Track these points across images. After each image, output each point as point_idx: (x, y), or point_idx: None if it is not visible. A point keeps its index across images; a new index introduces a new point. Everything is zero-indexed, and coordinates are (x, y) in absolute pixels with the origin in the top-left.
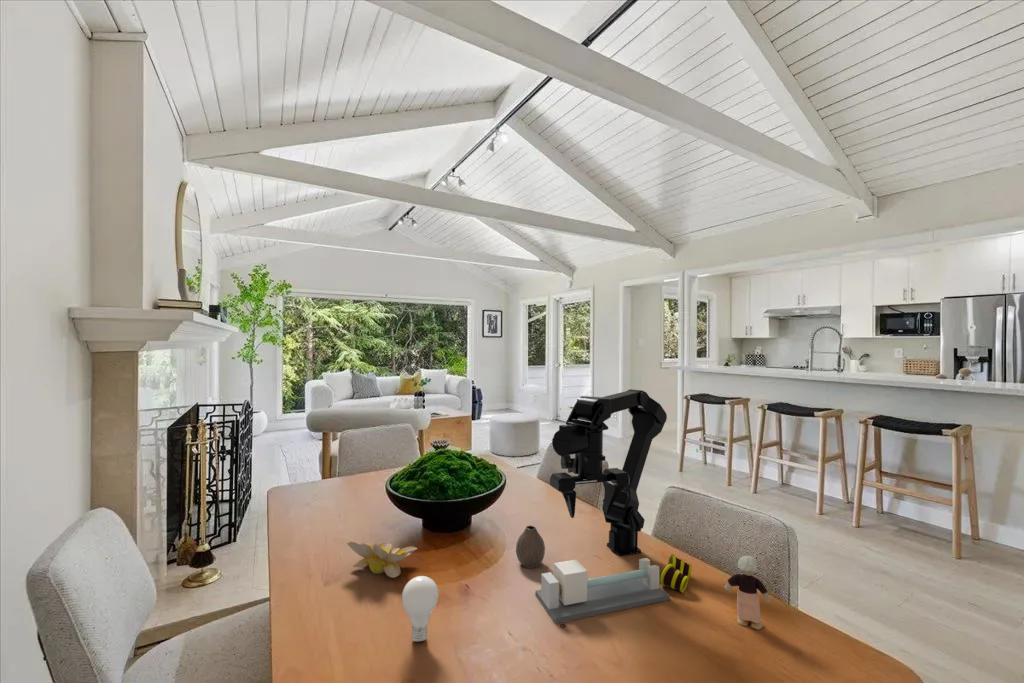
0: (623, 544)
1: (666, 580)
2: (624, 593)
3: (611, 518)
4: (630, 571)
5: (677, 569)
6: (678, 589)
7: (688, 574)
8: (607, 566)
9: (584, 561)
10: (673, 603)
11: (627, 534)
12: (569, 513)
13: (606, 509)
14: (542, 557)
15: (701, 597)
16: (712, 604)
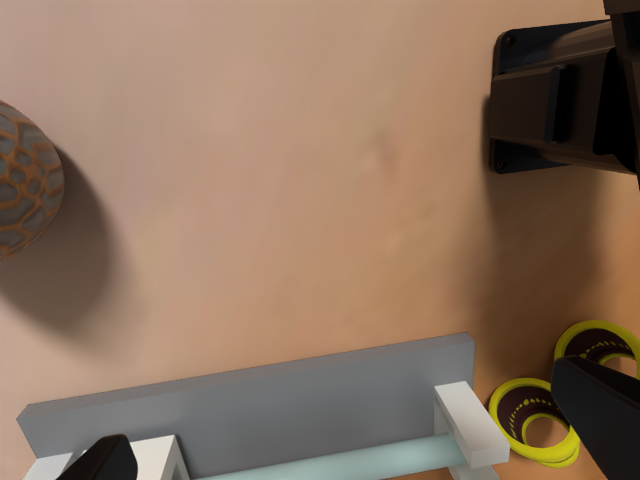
0: (550, 156)
1: (507, 433)
2: (340, 449)
3: (634, 129)
4: (396, 468)
5: None
6: (519, 427)
7: None
8: (385, 247)
9: (303, 188)
10: None
11: (616, 171)
12: (71, 468)
13: (588, 427)
14: (42, 233)
15: (552, 444)
16: (552, 470)
